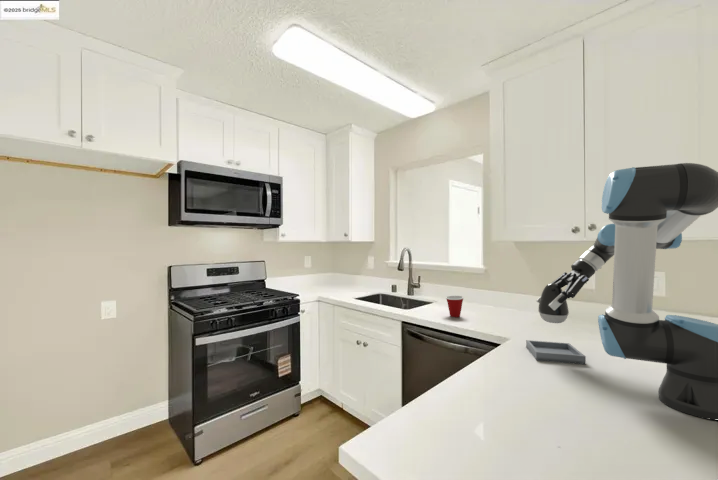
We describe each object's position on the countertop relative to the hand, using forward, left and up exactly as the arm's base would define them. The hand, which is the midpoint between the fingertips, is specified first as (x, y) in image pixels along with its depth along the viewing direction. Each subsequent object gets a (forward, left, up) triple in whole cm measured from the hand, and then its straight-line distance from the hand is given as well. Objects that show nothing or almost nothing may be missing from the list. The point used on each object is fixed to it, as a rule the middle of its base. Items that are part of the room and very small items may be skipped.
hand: (544, 305), depth 125 cm
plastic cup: (+62, +33, -20) cm, 73 cm away
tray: (0, -3, -19) cm, 20 cm away
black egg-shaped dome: (0, -3, -7) cm, 7 cm away
